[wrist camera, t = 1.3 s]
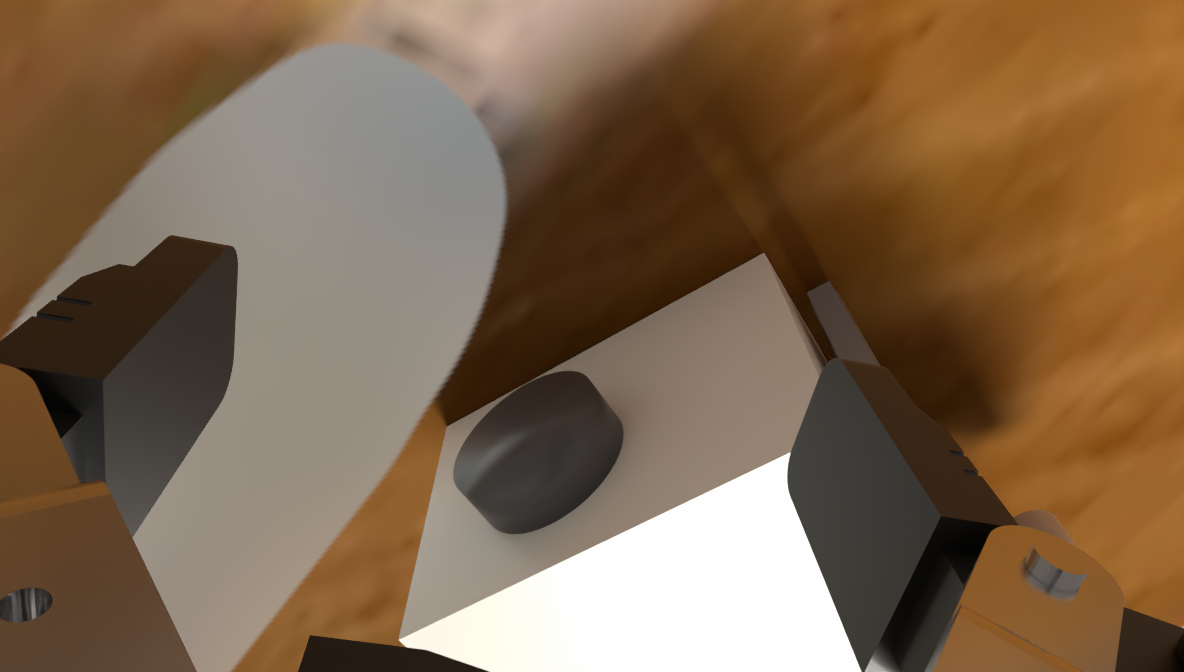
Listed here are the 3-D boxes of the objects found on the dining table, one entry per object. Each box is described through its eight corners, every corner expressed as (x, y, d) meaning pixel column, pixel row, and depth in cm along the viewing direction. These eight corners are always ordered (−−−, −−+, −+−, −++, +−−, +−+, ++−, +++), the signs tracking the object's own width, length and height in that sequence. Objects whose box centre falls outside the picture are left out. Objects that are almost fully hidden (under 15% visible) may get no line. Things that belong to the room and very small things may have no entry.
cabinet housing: (741, 213, 34) (820, 399, 23) (942, 558, 44) (1068, 810, 32) (419, 395, 38) (352, 628, 27) (666, 675, 48) (693, 934, 37)
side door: (911, 236, 34) (1196, 582, 18) (1040, 503, 41) (1326, 919, 25) (804, 293, 35) (984, 663, 19) (946, 543, 42) (1165, 964, 26)
